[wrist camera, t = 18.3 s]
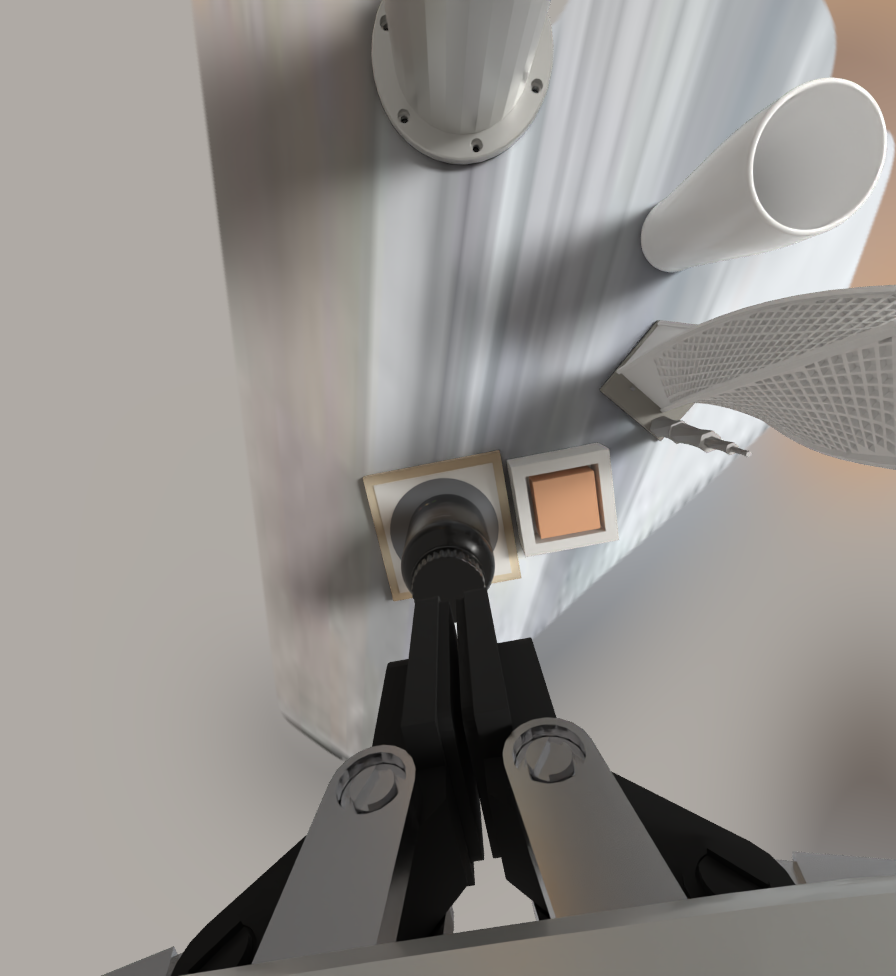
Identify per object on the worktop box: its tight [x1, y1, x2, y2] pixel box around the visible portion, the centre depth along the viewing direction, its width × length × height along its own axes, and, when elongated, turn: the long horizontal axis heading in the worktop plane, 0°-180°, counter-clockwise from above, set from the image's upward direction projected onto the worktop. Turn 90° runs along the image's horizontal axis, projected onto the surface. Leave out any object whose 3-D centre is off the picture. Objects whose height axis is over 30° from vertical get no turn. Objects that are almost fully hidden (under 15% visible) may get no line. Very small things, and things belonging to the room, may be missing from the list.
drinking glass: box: [641, 78, 887, 272], centre depth 30 cm, size 7×7×15 cm
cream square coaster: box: [363, 450, 521, 601], centre depth 43 cm, size 12×12×1 cm
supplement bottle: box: [401, 494, 495, 623], centre depth 36 cm, size 7×7×12 cm
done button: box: [529, 466, 600, 539], centre depth 40 cm, size 5×5×2 cm
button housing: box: [506, 442, 619, 557], centre depth 41 cm, size 8×8×3 cm
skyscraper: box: [600, 285, 896, 470], centre depth 26 cm, size 8×8×28 cm
